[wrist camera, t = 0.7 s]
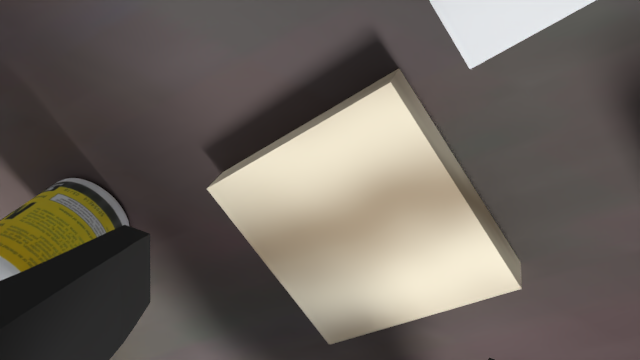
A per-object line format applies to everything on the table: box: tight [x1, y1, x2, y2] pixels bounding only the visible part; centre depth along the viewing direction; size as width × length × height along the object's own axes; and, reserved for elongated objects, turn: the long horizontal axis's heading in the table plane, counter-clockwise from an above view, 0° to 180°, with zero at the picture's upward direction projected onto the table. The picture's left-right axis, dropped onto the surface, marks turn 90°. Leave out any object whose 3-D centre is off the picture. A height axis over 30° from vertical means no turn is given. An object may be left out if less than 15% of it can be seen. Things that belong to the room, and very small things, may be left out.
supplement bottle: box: [0, 178, 130, 281], centre depth 23 cm, size 5×5×8 cm
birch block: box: [207, 69, 521, 345], centre depth 21 cm, size 9×9×2 cm
